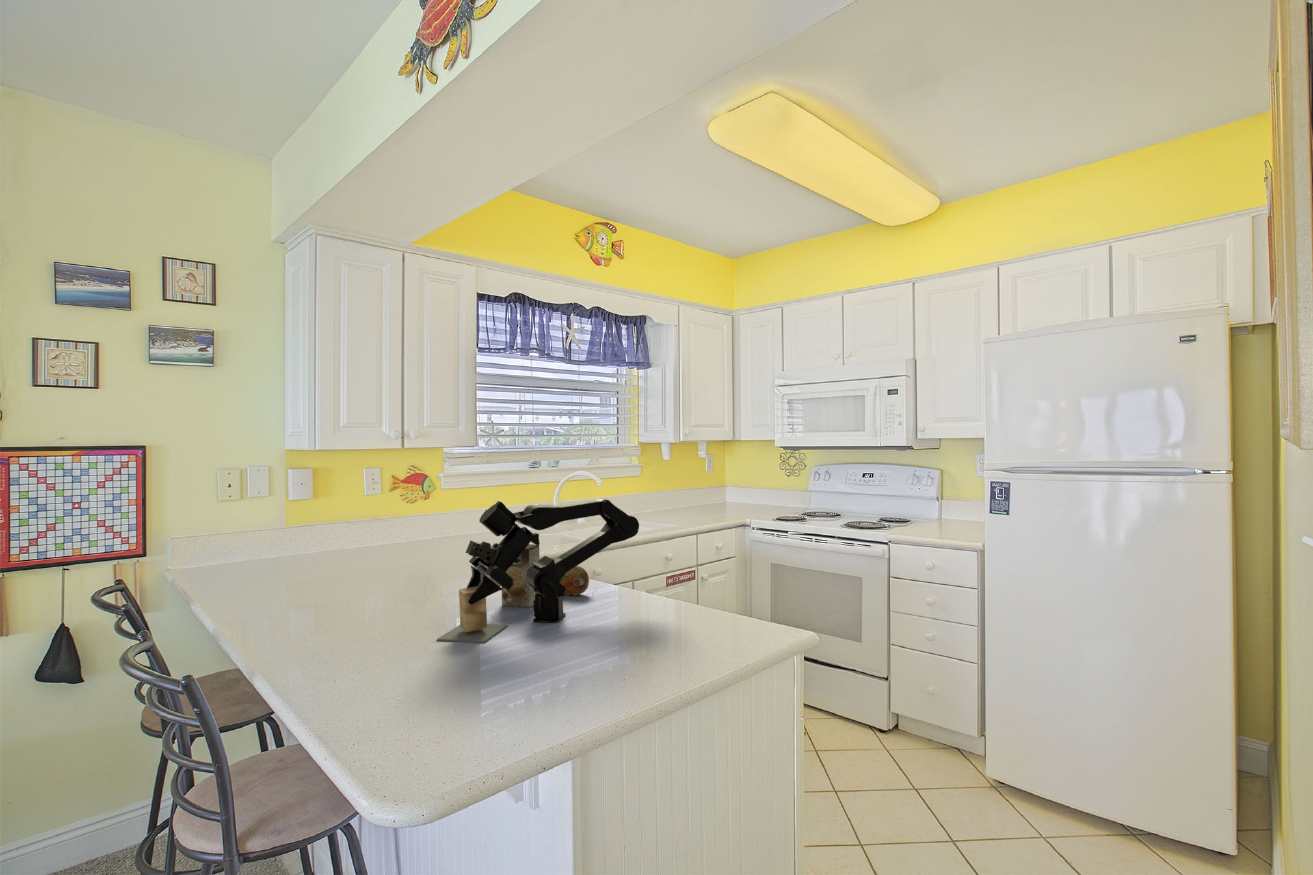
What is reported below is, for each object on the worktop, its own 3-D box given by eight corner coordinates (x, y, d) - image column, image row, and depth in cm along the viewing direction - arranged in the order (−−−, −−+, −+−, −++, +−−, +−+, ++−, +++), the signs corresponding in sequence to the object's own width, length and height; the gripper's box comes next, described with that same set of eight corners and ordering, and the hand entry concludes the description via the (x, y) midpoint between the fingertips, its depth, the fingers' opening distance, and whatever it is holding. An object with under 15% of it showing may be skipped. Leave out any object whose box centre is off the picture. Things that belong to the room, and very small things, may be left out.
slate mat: (508, 626, 156) (508, 624, 156) (484, 642, 144) (484, 641, 144) (463, 624, 159) (463, 622, 159) (436, 640, 147) (436, 638, 147)
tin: (539, 593, 186) (539, 564, 186) (545, 590, 189) (544, 562, 188) (585, 597, 180) (584, 567, 180) (590, 594, 183) (590, 565, 183)
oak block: (481, 622, 155) (479, 585, 155) (487, 627, 151) (485, 590, 150) (460, 626, 152) (458, 589, 152) (465, 632, 148) (464, 593, 148)
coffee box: (500, 605, 174) (498, 547, 174) (513, 599, 180) (511, 542, 180) (530, 607, 171) (528, 548, 171) (542, 601, 177) (540, 543, 177)
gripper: (475, 522, 161) (432, 573, 156) (497, 532, 145) (450, 589, 140) (507, 549, 165) (466, 599, 160) (532, 562, 149) (487, 618, 144)
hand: (466, 600), depth 151 cm, fingers closed on oak block, 5 cm apart
